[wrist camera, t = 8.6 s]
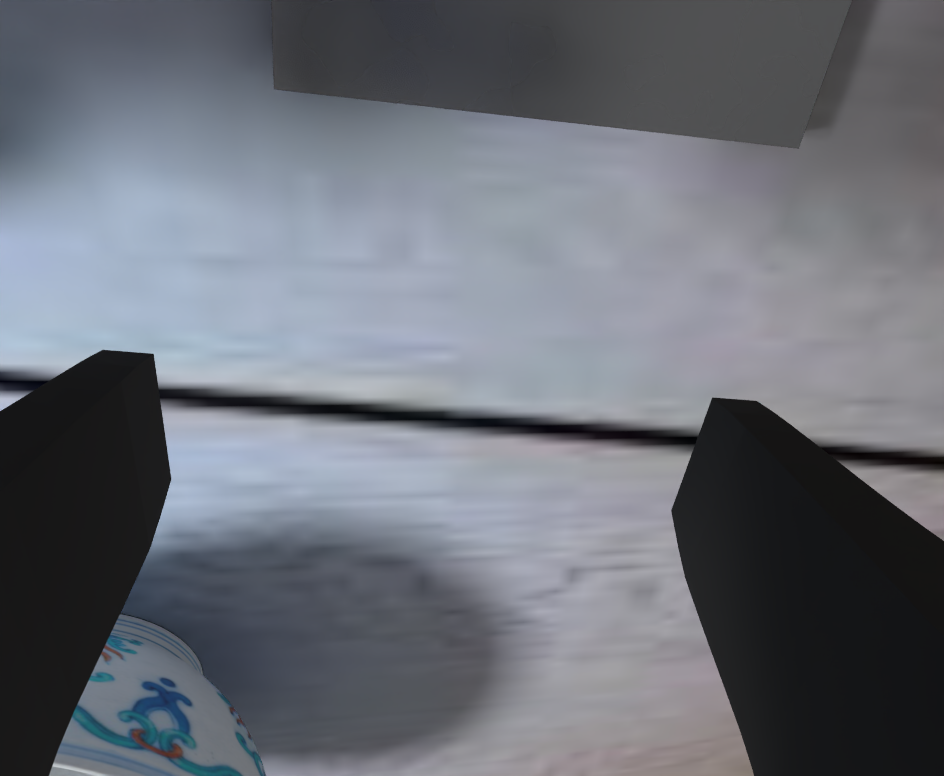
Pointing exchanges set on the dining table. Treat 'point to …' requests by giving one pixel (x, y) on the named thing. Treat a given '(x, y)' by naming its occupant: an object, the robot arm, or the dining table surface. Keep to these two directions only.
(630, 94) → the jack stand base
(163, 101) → the dining table surface
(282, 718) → the dining table surface
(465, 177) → the dining table surface
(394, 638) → the dining table surface
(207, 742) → the chinaware
